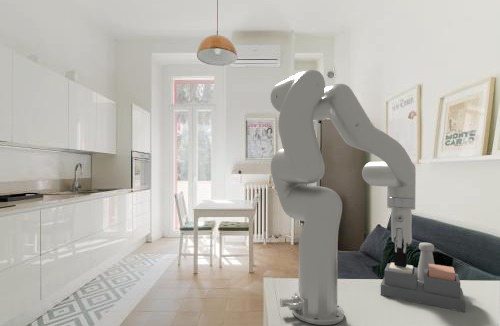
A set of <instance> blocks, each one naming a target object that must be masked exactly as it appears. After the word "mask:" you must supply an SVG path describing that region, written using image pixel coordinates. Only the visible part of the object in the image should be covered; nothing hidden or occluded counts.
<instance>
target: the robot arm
mask: <svg viewBox="0 0 500 326" xmlns="http://www.w3.org/2000/svg"><path fill="white" fill-rule="evenodd" d="M270 103H271V105H272V106H273V108H274V109H275V110H276V111H277V112H278V113H279V114H278V115H279V117H278V122H277V123H278V124H277V127H278V128H277V129H278V134H279V137H280V138H279V139H280V142H281V146H282V148H281V149H279V150H278V151H276V152H274V155H272V158H271V161H270V174H271V179H272V181H273V184H274V188H275V190H276V193H277V196H278V199H279V202H280V206H281V207H282V209H283V211H284V212H285V214H286V216H288V217H289V218H292V219H294V220H297V221H298V220H299V221H301V222H304V223H303V227H302V229H301V231H300V234H299V237H298V238H299V239H298V291H295V292H294V295H293V296H291V297H289V298H288V297H284V298H280V299H279V305H280V307H281V308H286V307H288V310H289V311H292V314H293V315H294V316H295V318H297V319H298V320H301V321H302V322H305V323H308V324H312V325H317V326H331V325H336V324H338V323H340V322H342V321H343V320H344V316H345V312H344V311H345V310H344V309H343V308H342V307H341V306H340V305H339V304H338V269H339V268H338V267H339V266H338V257H339V255H338V253H339V250H338V244H339V243H338V241H339V228H340V224H341V219H342V213H343V202H342V199H341V197H340V195H339V194H338V193H337V192H336V191H335V190H333V189H331V188H329V187H325V186H318V185H317V186H316V185H311V184H315V183H317V182H320V180H321V179H323V178H324V174H325V171H326V170H325V169H326V168H325V161H324V159H323V155H322V151H321V149H320V145H319V141H318V138H317V134H316V129H315V125H314V121H322V120H327V119H329V120H330V121H331V123H332V124H333V126H334V128H335V129H336V131H337V132H338V133H339V135H340V137H341V138H342V139H343V140H342V141H344V142H345V144H346V145H348V146H349V147H352V148H355V149H358V150H359V151H363V152H366V153H370V154H372V155H374V156H375V157H377V158H379V159H380V160H371V161H369V162H367V163H366V164H365V165H364V166H363V167H362V169H361V176H362V178H363V180H364V182H365V183H367V184H368V185H371V186H375V187H386V189H387V191H386V194H387V195H386V197H387V198H386V201H387V203H386V204H387V205H386V208H388V209H390V210H391V211H390V212H391V213H390V214H391V216H390V218H391V219H390V230H391V231H390V232H391V242H393V243H394V251H393V252H394V255H393V258H394V259H393V263H394V265H395V266H401V267H406V266H407V265H408V264H407V263H408V262H407V261H408V260H407V259H408V253H407V245H410V244H412V241H413V234H412V232H413V230H412V229H413V223H412V222H413V221H412V220H413V218H412V217H413V216H412V215H413V214H412V211H414V210H415V211H416V179H417V178H416V176H417V175H416V172H417V170H416V169H417V168H416V165H415V164H414V163H413V162H412V159H411V157H410V156H409V153H408V152H407V150H406V149H405V147H403V145H402V144H401V143H400V142H399V141H398V140H396V139H395V138H393V137H391V136H390V135H388V134H387V133H385V131H382V130H381V129H378V128H377V127H376V126H374V124H373V122H371V120H370V117H369V116H368V114H367V112H366V111H365V110H364V108H363V106H362V104H361V103H360V102H359V100H358V98H357V96H356V95H355V93H354V91H353V90H352V89H351V86H349V85H347V84H344V83H335V84H332V85H331V84H330V85H328V86H326V82H325V78H324V76H323V73H321V72H320V71H318V70H316V69H307V70H304V71H300V72H298V73H296V74H294V75H292V76H289V78H287V79H285V80H282V81H280V82H279V83H277V84H276V85H275V86H273V88H272V90H271V92H270ZM307 184H310V185H307Z"/></svg>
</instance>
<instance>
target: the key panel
mask: <svg viewBox="0 0 500 326" xmlns="http://www.w3.org/2000/svg"><path fill="white" fill-rule="evenodd" d="M390 264H391V262H390V263H387V264H386V267H385V268H384V273H383V274H384V276H383V279H382V281H381V283H380V295H381V296H385V297H389V298H394V299H399V300H403V301H409V302H413V303H418V304H424V305H426V306H427V305H428V306H433V307H438V308H442V309H446V310H452V311H457V312H461V313H466V299H465V295H464V292H463V288H462V287H461V280H460V277H459V274H458V273H455V281H452V280H445V279H439V278H433V277H429V269H424V281H419V280H418V267H414V266H413V274H409V273H403V272H397V271H391V270H389V266H390Z"/></svg>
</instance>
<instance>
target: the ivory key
mask: <svg viewBox="0 0 500 326" xmlns="http://www.w3.org/2000/svg"><path fill="white" fill-rule="evenodd" d="M413 267H414V265H411V264H407V266H406V267H401V266H395V265H394V262H390V266H389V270H391V271H397V272H403V273H409V274H413Z"/></svg>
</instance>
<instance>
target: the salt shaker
mask: <svg viewBox="0 0 500 326" xmlns="http://www.w3.org/2000/svg"><path fill="white" fill-rule="evenodd" d="M418 249H419V250H420V254H419V255H420V256H419V261H418V265H417V268H418V280H419V281H424V269H429V264H435V260H434V254H433V252H434V251H435V245H434V244H433V243H431V242H420V243H419V244H418Z"/></svg>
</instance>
